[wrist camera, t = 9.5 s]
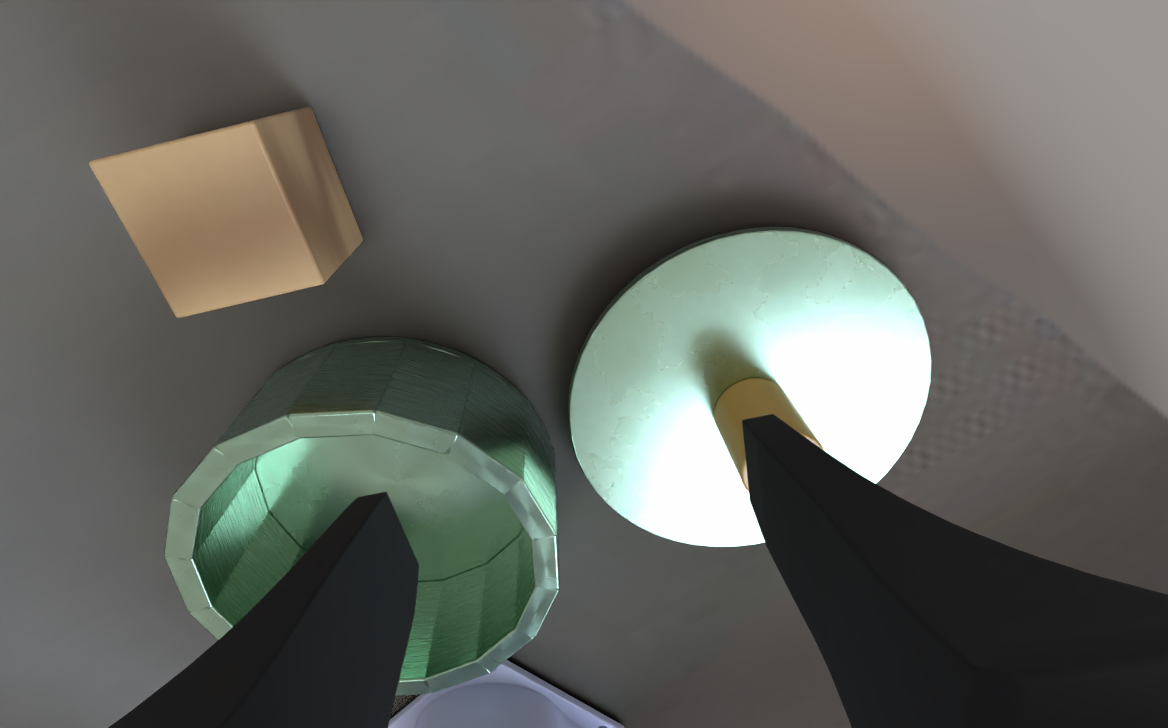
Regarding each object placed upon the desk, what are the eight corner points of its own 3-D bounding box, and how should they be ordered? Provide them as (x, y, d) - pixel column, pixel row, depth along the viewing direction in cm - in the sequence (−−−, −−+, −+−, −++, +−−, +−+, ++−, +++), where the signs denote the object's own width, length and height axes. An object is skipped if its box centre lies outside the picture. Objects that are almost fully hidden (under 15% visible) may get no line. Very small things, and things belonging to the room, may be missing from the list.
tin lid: (980, 383, 23) (1072, 453, 19) (721, 575, 27) (753, 668, 23) (770, 133, 19) (832, 157, 15) (494, 406, 22) (483, 484, 18)
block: (177, 138, 18) (86, 161, 14) (311, 105, 18) (253, 120, 14) (242, 270, 20) (175, 319, 16) (365, 240, 19) (325, 284, 16)
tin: (618, 465, 24) (635, 559, 19) (430, 627, 27) (408, 739, 23) (362, 267, 20) (310, 329, 15) (178, 487, 23) (93, 590, 19)
